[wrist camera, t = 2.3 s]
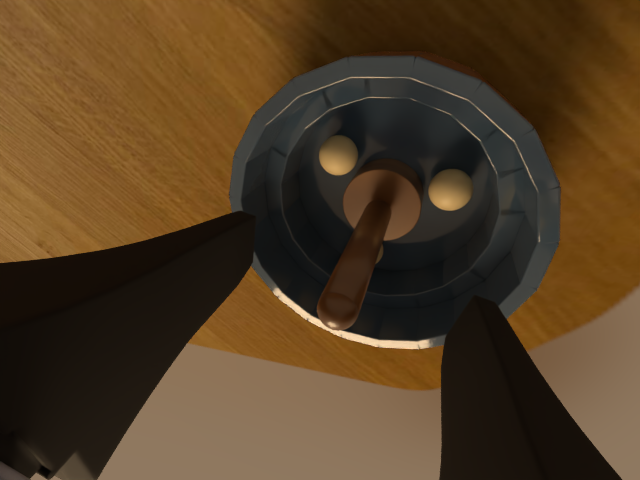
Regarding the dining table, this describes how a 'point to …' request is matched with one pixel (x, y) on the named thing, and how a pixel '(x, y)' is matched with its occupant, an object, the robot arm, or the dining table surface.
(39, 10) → the dining table surface
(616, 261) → the dining table surface
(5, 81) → the dining table surface
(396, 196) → the wooden pestle
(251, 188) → the bowl
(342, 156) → the chickpea
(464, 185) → the chickpea
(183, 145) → the dining table surface
